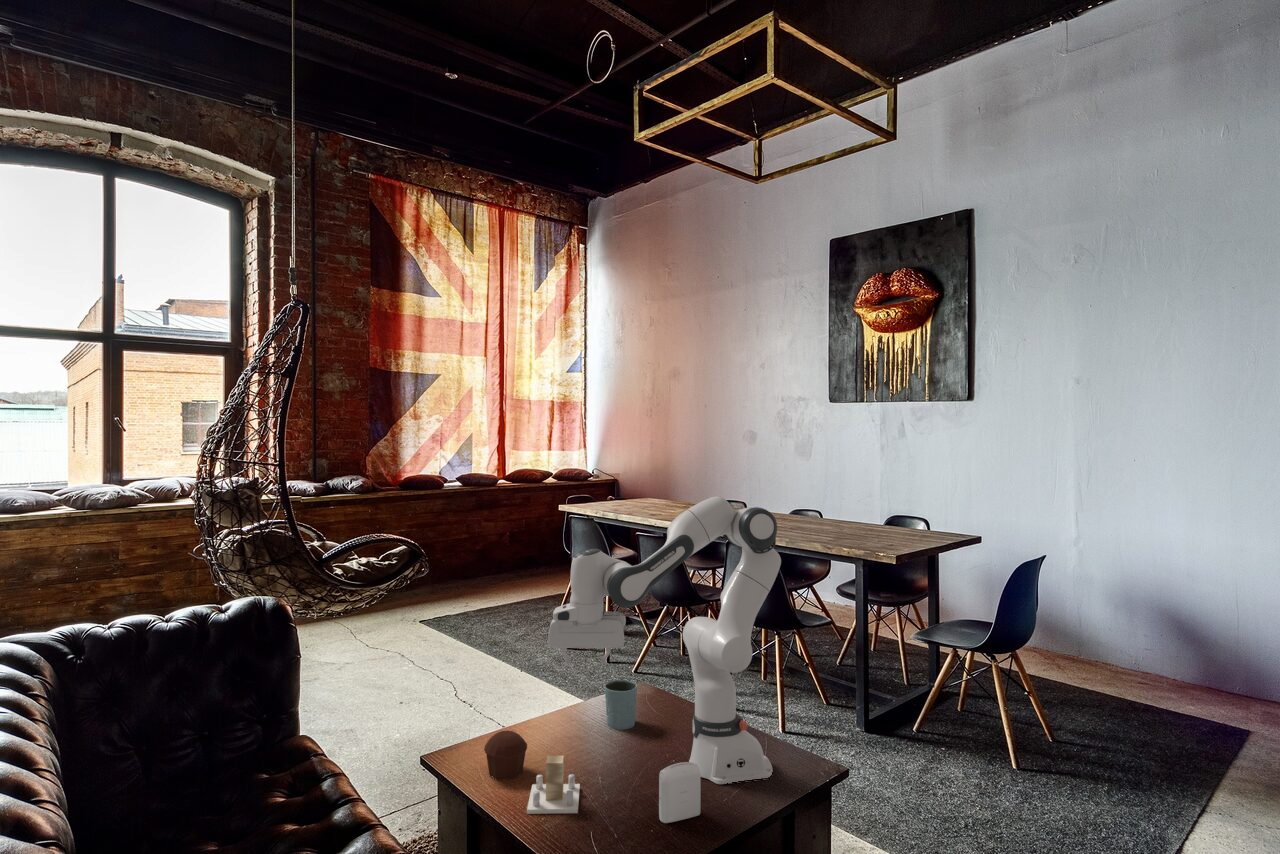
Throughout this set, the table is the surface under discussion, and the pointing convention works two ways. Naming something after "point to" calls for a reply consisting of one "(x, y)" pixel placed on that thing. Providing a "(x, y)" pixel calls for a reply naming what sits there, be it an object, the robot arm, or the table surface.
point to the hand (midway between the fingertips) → (585, 663)
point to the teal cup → (620, 704)
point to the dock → (542, 806)
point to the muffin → (505, 755)
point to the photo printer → (679, 792)
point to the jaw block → (554, 778)
